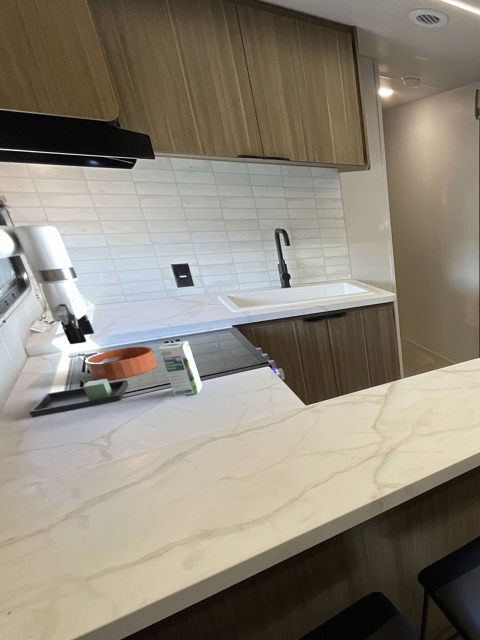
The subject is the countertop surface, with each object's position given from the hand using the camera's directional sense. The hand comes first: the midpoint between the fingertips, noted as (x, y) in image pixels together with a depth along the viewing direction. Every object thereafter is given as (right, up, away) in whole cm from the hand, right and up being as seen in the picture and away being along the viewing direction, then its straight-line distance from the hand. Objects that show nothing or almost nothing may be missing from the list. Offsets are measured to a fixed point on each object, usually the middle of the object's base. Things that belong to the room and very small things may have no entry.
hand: (82, 338), depth 111 cm
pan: (0, -17, +1) cm, 17 cm away
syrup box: (+25, -15, +6) cm, 30 cm away
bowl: (-7, -9, +21) cm, 24 cm away
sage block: (+3, -16, +2) cm, 16 cm away
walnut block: (-9, -9, +19) cm, 23 cm away
